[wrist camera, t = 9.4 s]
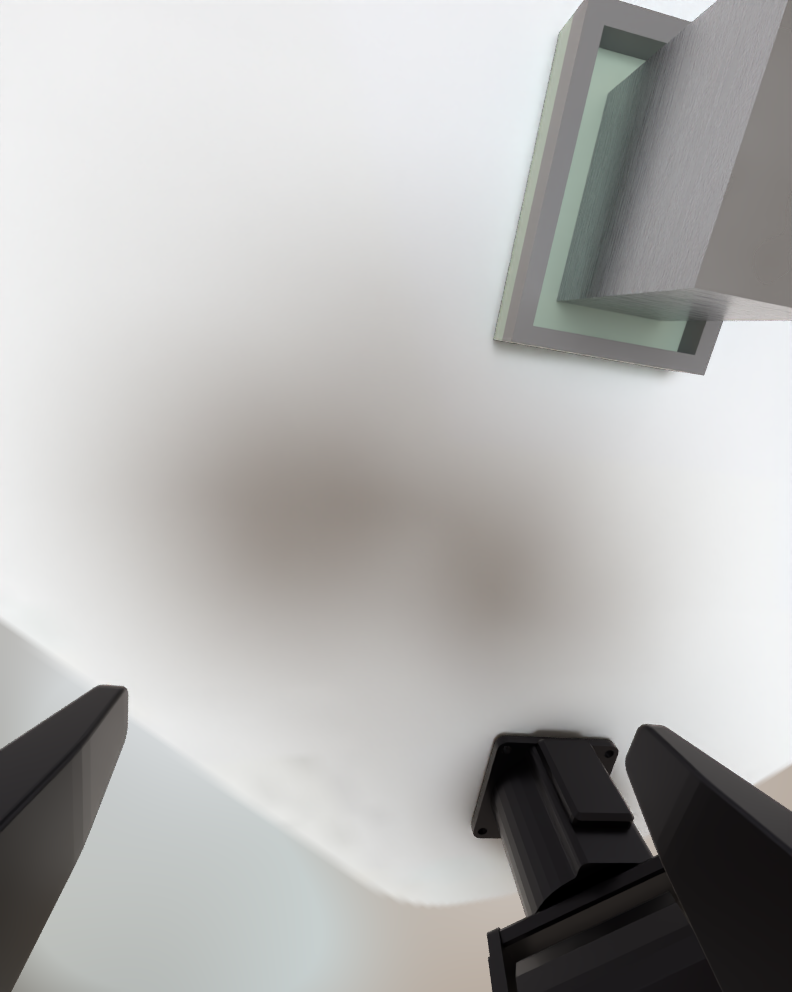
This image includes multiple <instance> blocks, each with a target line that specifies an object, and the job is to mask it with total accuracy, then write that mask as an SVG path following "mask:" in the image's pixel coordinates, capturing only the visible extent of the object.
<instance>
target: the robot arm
mask: <svg viewBox="0 0 792 992" xmlns="http://www.w3.org/2000/svg"><path fill="white" fill-rule="evenodd" d="M127 728H128V691H127V689H126V688H125V687H124V686H114V685H99V686H96V687H94V688H93V689H91V690H90V691H88V692H87V693H85V694H84V695H82V696H81V697H79V698H78V699H76V700H75V701H73V702H71V703H70V704H68V705H67V706H65V707H64V708H62V709H61V710H59V711H58V712H56V713H55V714H53V715H52V716H50V717H49V718H47V719H46V720H44V721H43V722H41V723H40V724H38V725H36V726H35V727H34V728H32V729H30V730H29V731H27V732H26V733H24V734H23V735H21V736H20V737H18V738H17V739H15V740H14V741H12V742H11V743H9V744H8V745H6V746H5V747H3V748H2V749H0V992H11V991H12V989H13V987H14V985H15V983H16V981H17V979H18V977H19V975H20V973H21V972H22V970H23V968H24V966H25V963H26V962H27V959H28V958H29V956H30V953H31V952H32V950H33V948H34V946H35V944H36V942H37V940H38V938H39V936H40V934H41V932H42V930H43V928H44V926H45V924H46V922H47V920H48V918H49V916H50V914H51V912H52V910H53V908H54V906H55V904H56V902H57V900H58V898H59V896H60V894H61V892H62V890H63V888H64V886H65V884H66V882H67V880H68V878H69V876H70V874H71V872H72V870H73V868H74V866H75V864H76V862H77V860H78V858H79V856H80V854H81V851H82V849H83V847H84V845H85V842H86V840H87V837H88V835H89V833H90V830H91V828H92V825H93V822H94V820H95V817H96V815H97V812H98V810H99V807H100V804H101V802H102V799H103V797H104V794H105V791H106V789H107V786H108V784H109V781H110V778H111V776H112V773H113V771H114V768H115V766H116V763H117V760H118V758H119V755H120V752H121V750H122V748H123V745H124V742H125V739H126V734H127ZM505 746H507V747H505ZM617 756H618V749H617V747H616V746H615V744H614V743H613V742H612V741H610V740H595V739H571V738H548V737H524V736H502V737H500V738H498V739H497V740H496V741H495V743H494V747H493V750H492V754H491V757H490V761H489V764H488V768H487V771H486V775H485V778H484V782H483V785H482V789H481V792H480V796H479V799H478V803H477V806H476V810H475V813H474V817H473V820H472V824H471V827H472V831H473V834H474V836H475V837H477V838H501V839H502V842H503V845H504V849H505V852H506V855H507V858H508V861H509V864H510V868H511V871H512V874H513V877H514V880H515V883H516V887H517V890H518V893H519V896H520V899H521V902H522V905H523V909H524V912H525V915H526V918H524V919H522V920H520V921H517V922H515V923H513V924H511V925H509V926H507V927H505V928H503V929H500V928H499V927H498V928H496V929H494V930H492V931H490V932H488V933H487V938H488V945H489V953H490V957H488V962H489V968H490V976H491V984H492V992H792V811H790V810H788V809H787V808H785V807H784V806H782V805H781V804H780V803H778V802H777V801H775V800H774V799H772V798H771V797H769V796H768V795H766V794H765V793H763V792H762V791H760V790H759V789H757V788H756V787H754V786H753V785H752V784H750V783H749V782H747V781H746V780H744V779H743V778H741V777H740V776H738V775H737V774H735V773H734V772H732V771H731V770H729V769H728V768H726V767H725V766H723V765H722V764H720V763H719V762H717V761H716V760H714V759H713V758H711V757H710V756H708V755H707V754H705V753H704V752H702V751H701V750H699V749H698V748H697V747H695V746H694V745H692V744H691V743H689V742H688V741H686V740H685V739H683V738H682V737H680V736H679V735H677V734H676V733H674V732H673V731H671V730H670V729H668V728H667V727H665V726H662V725H652V724H643V725H641V726H640V727H639V728H638V729H637V732H636V734H635V736H634V739H633V741H632V743H631V746H630V748H629V751H628V753H627V755H626V760H625V766H626V771H627V774H628V777H629V779H630V782H631V785H632V787H633V790H634V793H635V795H636V798H637V800H638V803H639V806H640V808H641V811H642V814H643V816H644V819H645V822H646V824H647V827H648V829H649V832H650V835H651V837H652V840H653V843H654V845H655V848H656V850H657V853H658V855H656V856H654V857H653V855H652V853H651V852H650V850H649V848H648V846H647V845H646V843H645V841H644V840H643V838H642V836H641V835H640V833H639V831H638V829H637V828H636V826H635V824H634V823H633V819H634V816H633V814H632V812H631V811H630V809H629V807H628V806H627V804H626V802H625V801H624V799H623V797H622V796H621V794H620V792H619V791H618V789H617V787H616V786H615V784H614V782H613V781H612V779H611V777H610V774H611V771H612V769H613V766H614V763H615V761H616V758H617Z"/></svg>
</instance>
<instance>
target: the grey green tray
mask: <svg viewBox="0 0 792 992" xmlns="http://www.w3.org/2000/svg"><path fill="white" fill-rule="evenodd" d="M690 23H691V22H689V21H686V20H683V19H679V18H676V17H672V16H669V15H666V14H662V13H659V12H656V11H652V10H649V9H646V8H642V7H639V6H636V5H632V4H629V3H626V2H622V1H619V0H584V1H583V2H582V4H581V5H580V6H579V7H578V9H577V10H576V11H575V13H574V14H573V15H572V17H571V18H570V19H569V21H568V22H567V23H566V24H565V26H564V27H563V28H562V30H561V31H560V32H559V37H558V41H557V46H556V51H555V55H554V60H553V65H552V69H551V74H550V79H549V83H548V88H547V93H546V97H545V102H544V107H543V111H542V116H541V121H540V125H539V130H538V135H537V139H536V144H535V149H534V153H533V158H532V163H531V167H530V172H529V177H528V181H527V186H526V191H525V195H524V200H523V205H522V209H521V214H520V219H519V223H518V228H517V233H516V237H515V242H514V247H513V251H512V256H511V261H510V265H509V270H508V275H507V279H506V284H505V289H504V293H503V298H502V303H501V307H500V312H499V317H498V321H497V326H496V331H495V335H494V340H498V341H504V342H510V343H516V344H521V345H527V346H533V347H539V348H544V349H550V350H556V351H562V352H567V353H573V354H579V355H585V356H590V357H596V358H602V359H608V360H613V361H619V362H625V363H630V364H636V365H642V366H648V367H653V368H659V369H665V370H671V371H678V372H685V373H692V374H698V375H704V374H705V371H706V368H707V365H708V363H709V360H710V357H711V354H712V351H713V348H714V345H715V343H716V340H717V337H718V334H719V331H720V328H721V325H722V323H723V321H658V320H653V319H648V318H643V317H637V316H632V315H627V314H622V313H616V312H611V311H606V310H601V309H596V308H590V307H585V306H580V305H575V304H569V303H564V302H559V301H557V296H558V292H559V288H560V284H561V280H562V276H563V272H564V268H565V264H566V260H567V256H568V252H569V248H570V244H571V240H572V236H573V232H574V228H575V224H576V220H577V216H578V212H579V208H580V204H581V200H582V196H583V191H584V187H585V183H586V179H587V175H588V171H589V167H590V163H591V159H592V155H593V151H594V147H595V143H596V139H597V135H598V131H599V127H600V123H601V119H602V115H603V111H604V107H605V103H606V99H607V95H608V93H609V92H610V91H611V90H612V89H614V88H615V87H616V86H617V85H618V84H619V83H621V82H622V81H623V80H624V79H625V78H627V77H628V76H629V75H630V74H631V73H632V72H634V71H635V70H636V69H637V68H638V67H640V66H641V65H642V64H643V63H644V62H645V61H647V60H648V59H649V58H650V57H651V56H653V55H654V54H655V53H656V52H657V51H658V50H660V49H661V48H662V47H663V46H664V45H665V44H667V43H668V42H669V41H670V40H671V39H673V38H674V37H675V36H676V35H677V34H678V33H680V32H681V31H682V30H683V29H684V28H686V27H687V26H688V25H689V24H690Z"/></svg>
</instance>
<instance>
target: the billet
mask: <svg viewBox="0 0 792 992" xmlns="http://www.w3.org/2000/svg"><path fill="white" fill-rule="evenodd" d="M557 301H559V302H564V303H569V304H575V305H580V306H585V307H590V308H596V309H601V310H606V311H611V312H616V313H622V314H627V315H632V316H637V317H643V318H648V319H653V320H658V321H792V0H717V1H716V2H715V3H714V4H713V5H712V6H710V7H709V8H708V9H707V10H706V11H704V12H703V13H702V14H701V15H700V16H699V17H697V18H696V19H695V20H694V21H693V22H691V23H690V24H689V25H688V26H687V27H686V28H684V29H683V30H682V31H681V32H680V33H678V34H677V35H676V36H675V37H674V38H673V39H671V40H670V41H669V42H668V43H667V44H665V45H664V46H663V47H662V48H661V49H660V50H658V51H657V52H656V53H655V54H654V55H653V56H651V57H650V58H649V59H648V60H647V61H645V62H644V63H643V64H642V65H641V66H640V67H638V68H637V69H636V70H635V71H634V72H632V73H631V74H630V75H629V76H628V77H627V78H625V79H624V80H623V81H622V82H621V83H619V84H618V85H617V86H616V87H615V88H614V89H612V90H611V91H610V92H609V93H608V95H607V99H606V103H605V107H604V111H603V115H602V119H601V123H600V127H599V131H598V135H597V139H596V143H595V147H594V151H593V155H592V159H591V163H590V167H589V171H588V175H587V179H586V183H585V187H584V191H583V196H582V200H581V204H580V208H579V212H578V216H577V220H576V224H575V228H574V232H573V236H572V240H571V244H570V248H569V252H568V256H567V260H566V264H565V268H564V272H563V276H562V280H561V284H560V288H559V292H558V296H557Z"/></svg>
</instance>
